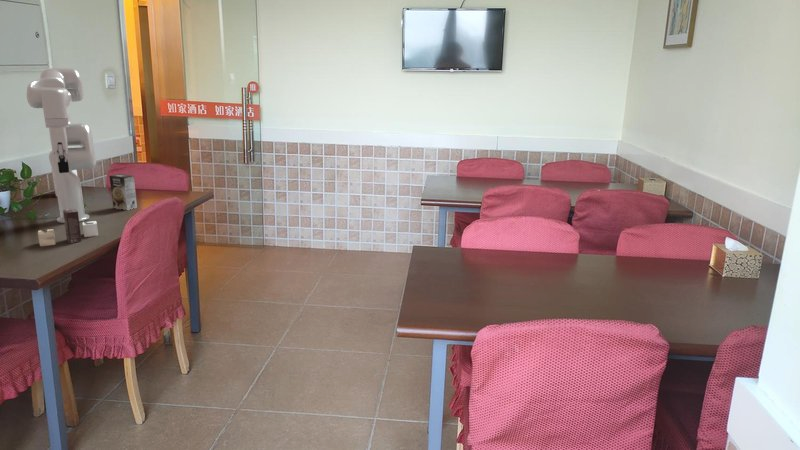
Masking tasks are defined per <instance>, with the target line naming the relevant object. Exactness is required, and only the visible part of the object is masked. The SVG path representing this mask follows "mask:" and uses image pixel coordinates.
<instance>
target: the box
mask: <svg viewBox="0 0 800 450" xmlns="http://www.w3.org/2000/svg"><path fill="white" fill-rule="evenodd" d="M63 213H64V221H65V223H64V228H65V235H66V236H65V237H66V240H67V242H68V243H70V244H71V243H72V244H74V243H78V242H82V232H81V225H80V222H79V216H78V211H77V210H75V209H69V210H63Z"/></svg>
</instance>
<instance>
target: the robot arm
mask: <svg viewBox="0 0 800 450" xmlns="http://www.w3.org/2000/svg"><path fill="white" fill-rule="evenodd" d="M83 88H84V86H83V79H82V76H81V75H80V73H79V71H78V70H77V69H75V68H46V69H44V70H43V71H42V72H41V73H40V79H36V80H35V81H32V82H29V84H28V85H27V88H26V100H27V103H28V104H29V106H30V107H32V108H34V109H42V111H43V117H44V123H45V128H47V129H48V130H49V131H48V132H49V138H50V145H51V151H50V152H49V154H48V159H49V164H50V166H51V168H52V169H51V171H52V170H53V174H54V178H55V184H56V190H57V196H56V197H57V203H58V208H59V217H57V218H56V221H57V223H61V224H65V221H64V213H63V210H69V209H75V210H77V211H78V216H79V223H80V222H85V221H88V219H90V215H89V214H88V213H86V211H85V206H84V198H83V191H82V183H81V179H80V177H79V176H78V174H77V175H76V174H74V173H73V172H72V170H91V169H93V168H95V166H96V165H97V159H96V157H97V156H96V152H95V146H94V140H93V134H92V130H91V127H90V126H89V125H88V124H86V123H81V122H79V123H71V121H72V120H71V116H70V113H69V111H68V109H67V108H68V107H69V106H70V105H71V103H73V102H74V103H76V102H80V101H82V100H83V98H84V89H83ZM72 146H73V147H72ZM74 146H75V147H74ZM77 146H79V147H77Z"/></svg>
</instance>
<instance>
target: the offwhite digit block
mask: <svg viewBox="0 0 800 450" xmlns="http://www.w3.org/2000/svg"><path fill="white" fill-rule="evenodd" d="M81 222H82V229H83V237H84V238H90V237H98V236H99V231H98V223H97V221H96V220H92V221H81Z"/></svg>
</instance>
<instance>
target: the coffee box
mask: <svg viewBox="0 0 800 450" xmlns="http://www.w3.org/2000/svg"><path fill="white" fill-rule="evenodd" d="M134 176H135V175H134V174H133V175H132V174H124V173H123V174H122V173H117V174H111V175H109V183H110V190H111V199H112V205H113V206H112V207H113V209H114V208H116V209H115V210H121V209H123V210H122V211H130V209H131V210H134V209H137V208H138V203H137V195H136V193H137V192H136V186H135V185H136V184H135V177H134ZM133 208H134V209H133Z"/></svg>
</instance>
